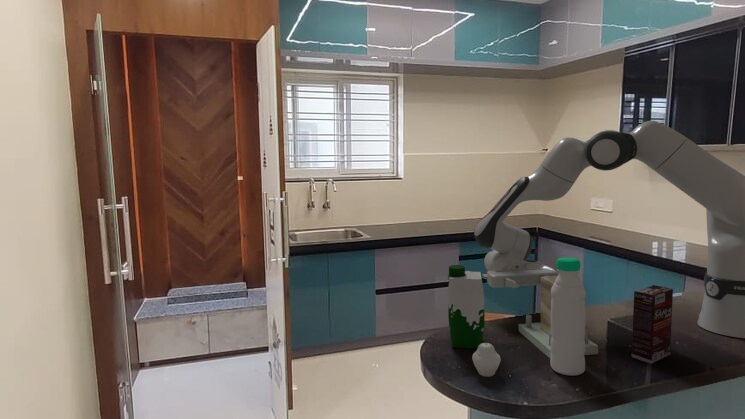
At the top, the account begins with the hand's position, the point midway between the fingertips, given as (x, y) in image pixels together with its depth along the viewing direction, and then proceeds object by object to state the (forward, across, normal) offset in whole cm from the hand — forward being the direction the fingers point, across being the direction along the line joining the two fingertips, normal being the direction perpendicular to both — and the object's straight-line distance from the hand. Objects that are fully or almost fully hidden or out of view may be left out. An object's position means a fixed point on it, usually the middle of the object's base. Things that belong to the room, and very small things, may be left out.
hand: (533, 284), depth 126 cm
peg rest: (+12, 0, +12) cm, 17 cm away
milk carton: (+8, -22, +12) cm, 26 cm away
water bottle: (+26, -5, +12) cm, 29 cm away
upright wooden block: (+12, 0, +10) cm, 15 cm away
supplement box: (+24, +17, +12) cm, 32 cm away
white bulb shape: (+25, -23, +12) cm, 36 cm away
